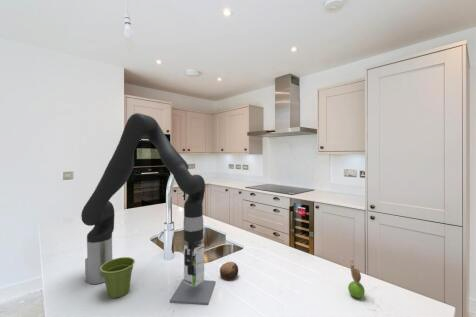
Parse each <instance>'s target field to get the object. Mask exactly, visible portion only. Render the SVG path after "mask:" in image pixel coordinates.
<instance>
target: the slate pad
mask: <svg viewBox="0 0 476 317" xmlns="http://www.w3.org/2000/svg"><path fill="white" fill-rule="evenodd" d="M216 284H217V283H216V280H207V279H206V280H205V279H204V281H203V282H201V283H200V284H198V285H197V286H196V287H193V286H190V285H188V284H186V283H184V278H183V279H182V280H181V282H179V285H178V286H177V287H176V289H175V290H174V293H173V294H172V296H171V298H170V300H169V303H171V304H185V305H186V304H187V305H202V306H203V305H205V306H208V305H209V303H210V300H211V297H212V294H213V292H214V289H215V285H216Z"/></svg>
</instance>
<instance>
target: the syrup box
mask: <svg viewBox="0 0 476 317" xmlns="http://www.w3.org/2000/svg"><path fill="white" fill-rule="evenodd" d="M188 244H189V243H188V242H187V243H186V244H184V246H183V279H184V283H186V284H188V285H190V286H193V287H196V286H197V285H198V284H200V283H201V282H203V281H204V280H205V244H203V243H201V244H197V246H198V247H195V248H194V251H193V256H195V254H196V258H194V274H193V275H188V266H185V249H187V246H188ZM189 262H190V260H189Z"/></svg>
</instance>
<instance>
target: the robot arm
mask: <svg viewBox="0 0 476 317" xmlns="http://www.w3.org/2000/svg"><path fill="white" fill-rule="evenodd" d="M143 138H144V139H147V140H148V141H149V142H150V143H152V144H153V146H154V147H155V148H156V151H157V152H158V155H159V158H160V160H161V161H162V163H163V165H164V166H165V167H166V169H167V170H168V171H169V172H170V174H172V175H173V178H174V180H175V182H176V184H177V186H178V188H179V189H180V191H182V192H183V193H184V195H187V199H186V200H185V202H184V203H183V241H184V242H186V243H187V244H188V243H189V244H188V246H187V249H185V266H188V275H193V274H194V258H196V254H195V256H193V251H194V248H195V247H198V246H197V244H202V241H203V239H204V217H203V214H204V213H203V212H204V210H203V209H204V208H203V202H204V198H205V192H206V182H205V179H204V177H203V176H202V175H199V174H193V175H192V174H191V172H190V170H189V164H188V162H187V161H186V160H185V159H184V157H182V155H181V154H180V153H179V152H178V151H177V150H176V148H175V147H174V146H173V145H172V143H171V142H170V141H169V139H168V138H167V136H166V134H165V133H164V131H163V129H162V128H161V126H160V124H159V123H158V121H157V120H156V119H155V118H154V117H152V116H150V115H146V114H144V113H140V112H139V113H138V112H137V113H133V114H131V115H130V116H129V117H128V119H127V120H126V123H125V125H124V128H123V130H122V134H121V137H120V140H119V141H118V144H117V146H116V148H115V150H114V152H113V154H112V157H111V159H110V160H109V161H108V163H107V166H106V168H105V169H104V172H103V174H102V177H101V178H100V180H99V181H98V184H97V185H96V187H95V190H94V191H93V193H92V194H91V196H90V197H89V199H88V200H87V202H86V203H85V205H84V206H83V208H82V210H81V216H80V217H81V221H82V223H83V224H84V225H85V226H89V227H92V226H93V228H92V229H91V230H90V231H89V232H88V233H87V235H86V252H87V253H86V256H87V257H86V258H85V259H84V264H85V265H84V268H85V269H84V273H85V274H84V275H85V278H84V279H85V282H87V283H88V284H90V285H97V284H98V285H99V284H103V283H105V279H104V276H103V273H102V271H101V270H100V267H101V266H102V265H103V264H104V263H106V262H108V261H110V260H113V232H114V230H115V207H114V204H113V203H112V202H111V201H110V200H111V199H112V197H113V196H114V195H115V194H116V193H117V192H118V191H119V190H120V189H121V188H122V187H124V185H125V184H126V182H128V180H129V177H130V175H131V174H132V172H133V170H134V167H135V150H136V148H137V145H138V144H139V141H141V139H143ZM189 260H190V262H189Z"/></svg>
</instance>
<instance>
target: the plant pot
mask: <svg viewBox="0 0 476 317" xmlns="http://www.w3.org/2000/svg"><path fill="white" fill-rule="evenodd" d="M135 263H136V261H135V259H134V258H133V257H129V256H127V257H126V256H123V257H117V258H112V260H110V261H108V262H106V263H104V264H103V265H102V266H101V267H100V270H101V271H102V273H103V276H104V279H105V282H104V283H105V287H106V291H107V295H108V297H109V298H111V299H116V298H119V297H125V295H126V294H128V293H129V291H130V286H131V280H132V273H133V269H134V264H135Z"/></svg>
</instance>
